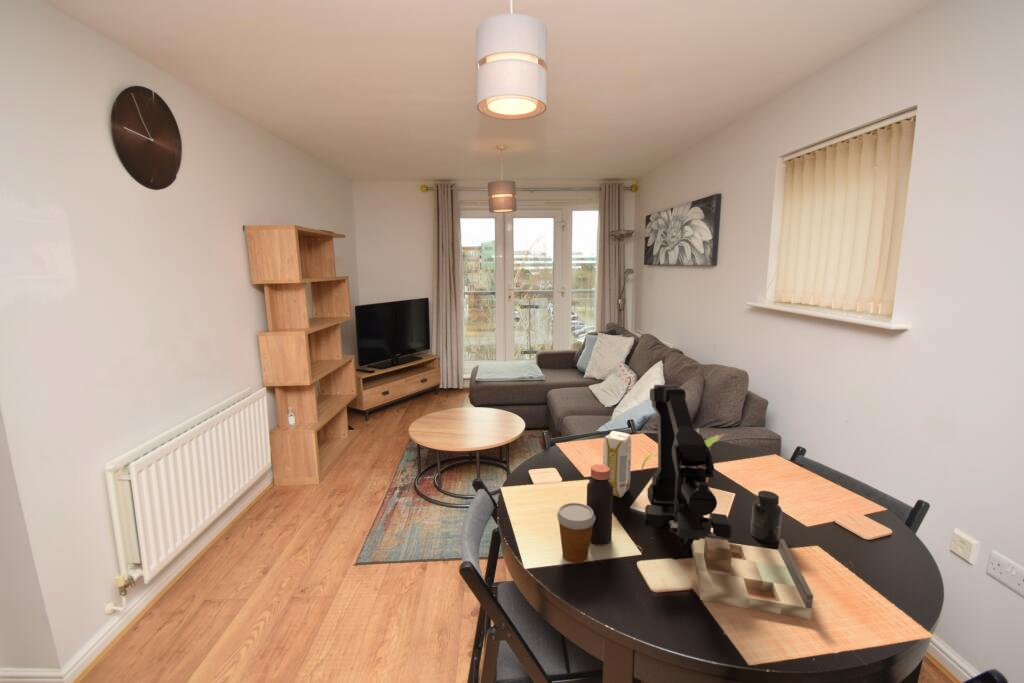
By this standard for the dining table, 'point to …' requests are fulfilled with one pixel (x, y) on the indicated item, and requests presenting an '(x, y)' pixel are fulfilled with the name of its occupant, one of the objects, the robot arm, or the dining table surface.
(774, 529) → the supplement bottle
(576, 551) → the disposable coffee cup
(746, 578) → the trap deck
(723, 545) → the walnut block
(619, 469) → the juice carton
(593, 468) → the black water bottle
